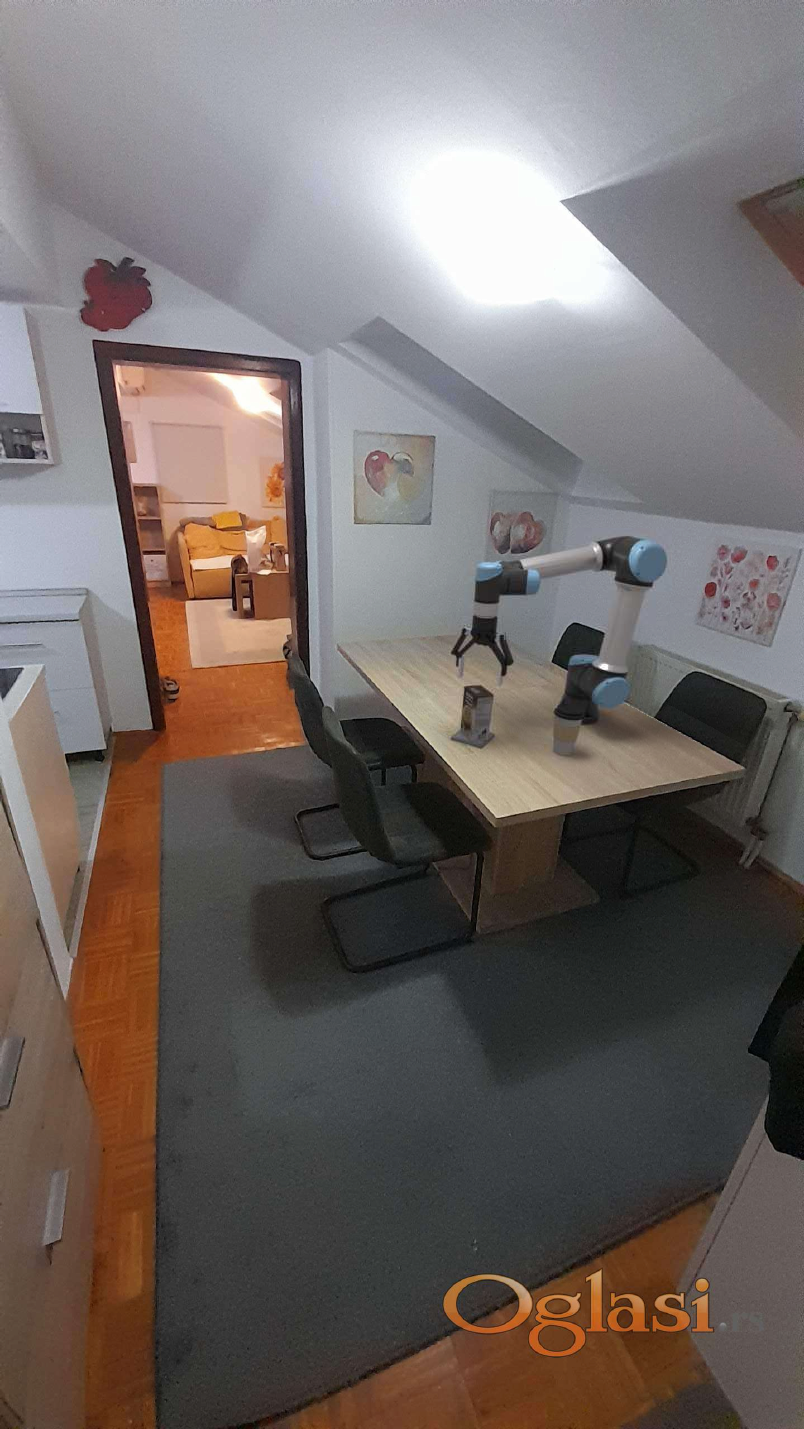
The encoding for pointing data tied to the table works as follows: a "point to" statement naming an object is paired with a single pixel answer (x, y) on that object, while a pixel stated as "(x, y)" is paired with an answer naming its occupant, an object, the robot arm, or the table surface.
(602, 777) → the table surface
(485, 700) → the coffee box
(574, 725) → the coffee cup
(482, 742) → the tray
